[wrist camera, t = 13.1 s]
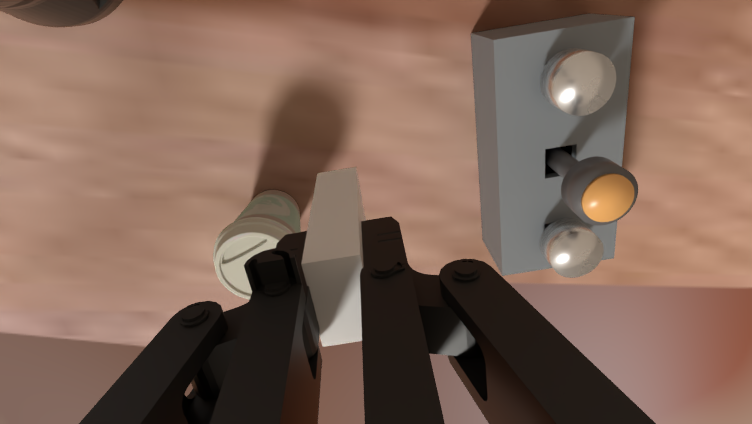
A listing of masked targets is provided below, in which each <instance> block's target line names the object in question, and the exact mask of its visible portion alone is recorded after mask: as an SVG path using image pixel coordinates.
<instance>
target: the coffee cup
mask: <svg viewBox="0 0 752 424" xmlns="http://www.w3.org/2000/svg"><path fill="white" fill-rule="evenodd" d="M298 232H300V210H299V207H298V204H297V203H296V201H295V200H294V199H293V198H292V197H291V196H290V195H288V194H287V193H285V192H282V191H279V190H267V191H264V192H261V193H259V194H258V195H257V196H255V197H254V199H253V200H252V201H251V202H250V203H249V204H248V206H247V207H246V208H245V209H244V210H243V212H242V213H241V214H240V215H239V216H238V218H237V219H236V220H235V221H234V222H233V223H231V224H230V225H228V226H227V227H226V228H225V229H224V230H223V231H222V232H221V233H220V234H219V236H218V238H217V240H216V242H215V246H214V252H213V260H214V265H215V270H216V273H217V276H218V278H219V280H220V281H221V283H222V284H223V285H224V286H225V287H226V288H227V289H228V290H229V291H230V292H232V293H234V294H235V295H237V296H239V297H242V298H245V299H250V297H251V294H252V290H251V287H250V284H249V281H248V278H247V274H246V271H245V268H244V264H245V263H246V261H247V260H248V259H250V258H251V257H252V256H254V255H255V254H258V253H260V252H262V251H265V250H269V249H273V248H276V245H277V243H278V242H279V241H280V240H281V239H282V238H283V237H284V236H285V235H286V234H292V233H298Z"/></svg>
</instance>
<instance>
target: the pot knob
mask: <svg viewBox="0 0 752 424" xmlns="http://www.w3.org/2000/svg"><path fill="white" fill-rule="evenodd" d="M545 163H546V164H547V165H548V166H549V167H551V168H552V169H553V170H554V171H555V172H557V173H558V174H559V175H560V176H561V177H562V178H564V179H563V181H562V185H561V195H562V199H563V201H564V202H565V204H566V205H567V206H568V207H569V208H570V209H571V210H572V211H573V212H574V213H575V214H576V215H577V216H579V217H580V218H581V219H582V220H583V221H584V222H586V223H588V224H591V225H599V226H600V225H607V224H611V223H613V222H615V221H617V220H619V219H621V218H622V217H623V216H625V215H626V214H627V213H628V212H629V211H630V209H631V208H632V207H633V205H634V203H635V201H636V198H637V194H638V184H637V181H636V179H635V177H634V176H633V175H632V174H631V173H630V172H629V171H627V170H626V169H624V168H623V167H621V166H619V165H618V164H616V163H615V162H613V161H611V160H610V159H608V158H605V157H598V156H595V157H589V158H586V159H583V160H581V161H578V160H577V159H575V158H574V157H572V156H571V155H570V154H568V153H567V152H565V151H564V150H563V149H561V148H560V147H556V148H550V149H545Z"/></svg>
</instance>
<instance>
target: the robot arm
mask: <svg viewBox="0 0 752 424" xmlns="http://www.w3.org/2000/svg"><path fill="white" fill-rule="evenodd" d="M122 1H123V0H0V11H3V12H5V13H7V14H10V15H12V16H14V17H16V18H19V19H21V20H24V21H26V22H29V23H33V24H37V25H42V26H48V27H72V26H81V25H86V24H90V23H93V22H96V21H98V20H100V19H102V18H104V17H106V16H107V15H109V14H110V13H111V12H113V11H114V10H115V9H116V8H117V7H118V6H119V5H120V3H121V2H122ZM244 268H245V271H246V274H247V278H248V281H249V284H250V287H251V290H252V294H251V297H250V300H249V302H248V303H246V304H244V305H242V306H239V307H237V308H234V309H231V310H228V311H226V312H223V310H222V308H221V305H219V304H218V303H217V302H212V301H205V302H198V303H194V304H191V305H189V306H187V307H186V308H184V309H182V310H180V311H179V312H178V313H176V314H175V315H174V316H173V317H172V318H171V319H170V320H169V321H168V322H167V324H166V325H165V326H164V327H163V328H162V329H161V330H160V332H159V333H158V334H157V335H156V336H155V337H154V338H153V340H152V341H151V342H150V343H149V344H148V345H147V347H146V348H145V349H144V350H143V351H142V352H141V353H140V355H139V356H138V357H137V358H136V359H135V360H134V361H133V363H132V364H131V365H130V366H129V367H128V368H127V369H126V371H125V372H124V373H123V374H122V375H121V376H120V377H119V379H118V380H117V381H116V382H115V383H114V384H113V385H112V387H111V388H110V389H109V390H108V391H107V392H106V393H105V395H104V396H103V397H102V398H101V399H100V400H99V401H98V403H97V404H96V405H95V406H94V407H93V408H92V409H91V411H90V412H89V413H88V414H87V415H86V416H85V417H84V419H83V420H82V421H81V422H80V423H79V424H318V411H319V397H320V381H321V368H322V358H321V353H320V349H319V346H318V343H319V334H320V338H321V342H322V345H323V347H325V346H331V345H338V344H344V343H351V342H357V341H362V350H363V381H364V409H365V424H444V419H443V414H442V410H441V405H440V401H439V396H438V392H437V387H436V383H435V378H434V374H433V369H432V365H431V361H430V356H429V353H431V354H441V355H448V358H449V361H450V363H451V365H452V366H453V368H454V370H455V371H456V373H457V374H458V376H459V377H460V379H461V380H462V382H463V384H464V385H465V387H466V388H467V390H468V391H469V393H470V395H471V396H472V398H473V399H474V401H475V402H476V404H477V405H478V407H479V409H480V410H481V412H482V413H483V415H484V416H485V418H486V420H487V421H488V423H489V424H656V423H654V421H653V420H651V419H650V418H649V417H648V416H647V415H646V414H645V413H644V412H643V411H642V410H641V409H640V408H639V407H638V406H637V405H636V404H635V403H634V402H633V401H631V400H630V399H629V398H628V397H627V396H626V395H625V394H624V393H623V392H622V391H621V390H620V389H619V388H618V387H617V386H616V385H615V384H614V383H613V382H611V380H609V379H608V378H607V377H606V376H605V375H604V374H603V373H602V372H601V371H600V370H599V369H598V368H597V367H596V366H595V365H594V364H593V363H592V362H591V361H589V360H588V359H587V358H586V357H585V356H584V355H583V354H582V353H581V352H580V351H579V350H578V349H577V348H576V347H575V346H574V345H573V344H572V343H570V341H568V340H567V339H566V338H565V337H564V336H563V335H562V334H561V333H560V332H559V331H558V330H557V329H556V328H555V327H554V326H553V325H552V324H550V322H548V321H547V320H546V319H545V318H544V317H543V316H542V315H541V314H540V313H539V312H538V311H537V310H536V309H535V308H534V307H533V306H532V305H530V303H529V302H527V301H526V300H525V299H524V298H523V297H522V296H521V295H520V294H519V293H518V292H517V291H516V290H515V289H514V288H513V287H512V286H511V285H510V284H509V283H508V282H507V281H505V280H504V279H503V278H502V277H501V276H500V275H499V274H498V273H497V272H496V271H495V270H494V269H493V268H492V267H491V266H489V265H488V264H486V263H485V262H483V261H479V260H475V259H461V260H456V261H453V262H451V263H448V264H446V265H445V266H444V267H443V268H442V269H441V271H440V274H439V275H428V274H422V273H419V272H417V271H415V270H413V269H412V268H411V267H410V266H409V264H408V262H407V257H406V253H405V248H404V244H403V239H402V235H401V230H400V226H399V222H397V221H396V220H395V219H393V218H392V217H385V218H379V219H373V220H366V219H365V213H364V208H363V202H362V196H361V191H360V185H359V180H358V174H357V169H356V167H352V168H346V169H340V170H334V171H328V172H321V173H317V178H316V184H315V190H314V195H313V201H312V207H311V212H310V218H309V223H308V229H307V231H305V232H298V233H292V234H286V235H285V236H284V237H283V238H282V239H281V240H280V241H279V242H278V243H277V245H276V248H273V249H269V250H265V251H262V252H260V253H258V254H255V255H254V256H252V257H251V258H250V259H248V260H247V261H246V263H245V264H244ZM190 383H191V384H192V386H193V390H192V391H191V392H190V394H189V395H188V396H187V397H186V396H185V395H184V393H185V391H186V389H187V387H188V386H189V384H190Z"/></svg>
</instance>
